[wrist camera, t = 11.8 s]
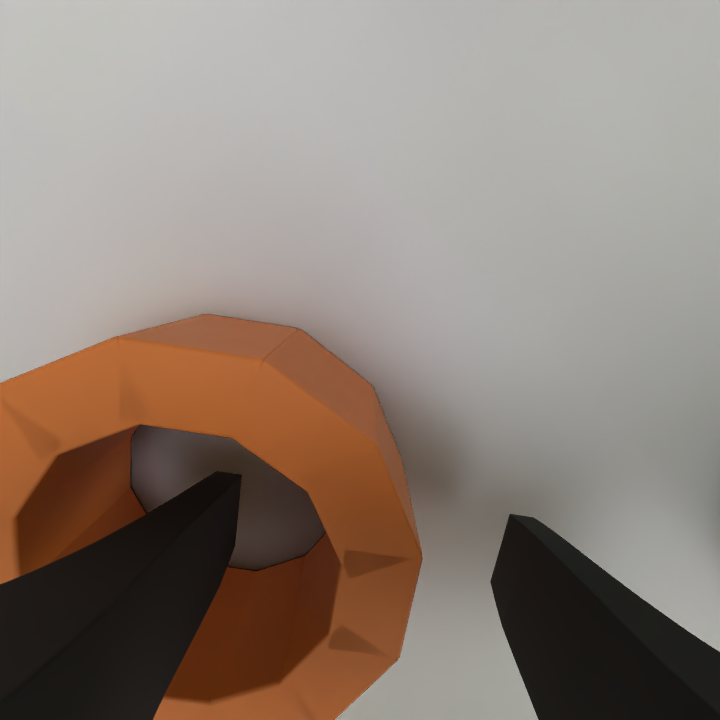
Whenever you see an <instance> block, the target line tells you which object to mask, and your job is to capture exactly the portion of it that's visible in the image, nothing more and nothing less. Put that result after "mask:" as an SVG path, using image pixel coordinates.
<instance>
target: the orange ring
mask: <svg viewBox="0 0 720 720" xmlns="http://www.w3.org/2000/svg"><path fill="white" fill-rule="evenodd" d="M140 424H141V425H148V426H155V427H162V428H168V429H175V430H182V431H188V432H195V433H202V434H208V435H215V436H222V437H228V438H232V439H234V440H235V441H236V442H238V443H239V444H241V445H242V446H243V447H245V448H246V449H248V450H249V451H250V452H252V453H253V454H255V455H256V456H257V457H259V458H260V459H262V460H263V461H264V462H266V463H267V464H269V465H270V466H271V467H273V468H274V469H276V470H277V471H279V472H280V473H281V474H283V475H284V476H286V477H287V478H288V479H290V480H291V481H293V482H294V483H295V484H297V485H298V486H300V487H301V488H302V489H304V490H305V491H307V492H308V494H309V496H310V498H311V501H312V503H313V505H314V507H315V509H316V511H317V514H318V516H319V518H320V520H321V522H322V524H323V527H324V529H325V531H326V534H325V535H324V536H323V537H322V538H321V539H320V540H319V541H318V542H317V544H316V545H315V546H314V547H313V548H312V549H311V550H310V551H309V552H308V553H307V555H306V556H303V557H300V558H297V559H294V560H290V561H287V562H284V563H281V564H278V565H275V566H272V567H269V568H266V569H263V570H260V571H251V570H244V569H237V568H230V567H227V569H226V571H225V574H224V576H223V579H222V582H221V584H220V587H219V589H218V591H217V593H216V595H215V597H214V599H213V601H212V603H211V605H210V607H209V609H208V611H207V613H206V615H205V617H204V619H203V621H202V623H201V625H200V626H199V628H198V630H197V632H196V634H195V636H194V638H193V640H192V642H191V644H190V646H189V648H188V650H187V652H186V654H185V656H184V658H183V660H182V662H181V664H180V665H179V667H178V669H177V671H176V673H175V675H174V677H173V679H172V681H171V683H170V685H169V687H168V689H167V691H166V693H165V695H164V697H163V699H162V701H161V703H160V705H159V708H158V710H157V712H156V714H155V716H154V718H153V720H335V719H336V718H337V717H338V716H339V715H340V714H341V713H342V712H343V711H344V710H345V709H346V708H348V707H349V706H350V705H351V704H352V703H353V702H354V701H355V700H356V699H357V698H358V697H359V696H360V695H361V694H362V693H363V692H365V691H366V690H367V689H368V688H369V687H370V686H371V685H372V684H373V683H374V682H375V681H376V680H377V679H378V678H379V677H380V676H381V675H383V674H384V673H385V672H386V671H387V670H388V669H389V668H390V667H391V666H392V665H393V664H394V663H395V662H396V661H397V660H398V658H399V657H400V653H401V649H402V645H403V640H404V636H405V632H406V627H407V623H408V619H409V614H410V610H411V606H412V601H413V597H414V593H415V588H416V584H417V580H418V575H419V571H420V567H421V562H422V552H421V547H420V542H419V537H418V533H417V528H416V523H415V518H414V514H413V509H412V504H411V499H410V495H409V490H408V485H407V480H406V476H405V471H404V466H403V462H402V459H401V456H400V454H399V451H398V449H397V446H396V444H395V441H394V439H393V436H392V433H391V431H390V428H389V426H388V423H387V421H386V418H385V416H384V413H383V410H382V408H381V405H380V403H379V400H378V398H377V395H376V393H375V390H374V387H373V386H372V385H371V384H370V383H369V382H368V381H366V380H365V379H364V378H363V377H361V376H360V375H359V374H357V373H356V372H355V371H354V370H352V369H351V368H350V367H349V366H347V365H346V364H345V363H343V362H342V361H341V360H340V359H338V358H337V357H336V356H334V355H333V354H332V353H331V352H329V351H328V350H327V349H326V348H324V347H323V346H322V345H320V344H319V343H318V342H317V341H315V340H314V339H313V338H312V337H310V336H309V335H308V334H306V333H305V332H304V331H303V330H301V329H297V328H293V327H287V326H280V325H274V324H268V323H261V322H255V321H249V320H243V319H236V318H230V317H224V316H217V315H211V314H206V315H205V314H203V315H199V316H195V317H191V318H187V319H183V320H179V321H175V322H171V323H167V324H164V325H160V326H156V327H152V328H148V329H144V330H140V331H136V332H132V333H128V334H124V335H120V336H117V337H113V338H111V339H108V340H106V341H103V342H101V343H98V344H96V345H93V346H91V347H88V348H86V349H83V350H81V351H79V352H76V353H74V354H71V355H69V356H66V357H64V358H61V359H59V360H56V361H54V362H51V363H49V364H46V365H44V366H41V367H39V368H36V369H34V370H31V371H29V372H26V373H24V374H21V375H19V376H16V377H14V378H11V379H9V380H6V381H4V382H1V383H0V584H2V583H5V582H7V581H10V580H12V579H15V578H17V577H20V576H22V575H25V574H27V573H30V572H32V571H34V570H36V569H39V568H41V567H43V566H45V565H48V564H50V563H52V562H54V561H56V560H59V559H61V558H63V557H65V556H67V555H69V554H72V553H74V552H76V551H78V550H80V549H82V548H84V547H86V546H88V545H90V544H92V543H94V542H96V541H98V540H100V539H102V538H104V537H106V536H108V535H109V534H111V533H113V532H115V531H117V530H118V529H120V528H122V527H124V526H126V525H128V524H129V523H131V522H133V521H135V520H137V519H139V518H140V517H142V516H144V515H146V513H145V511H144V510H143V508H142V506H141V505H140V503H139V501H138V499H137V498H136V496H135V494H134V492H133V491H132V489H131V487H130V463H131V436H132V435H133V434H134V432H135V431H136V429H137V428H138V427H139V425H140Z"/></svg>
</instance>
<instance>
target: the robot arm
mask: <svg viewBox="0 0 720 720" xmlns="http://www.w3.org/2000/svg"><path fill="white" fill-rule="evenodd" d="M241 479H242V475H240V474H233V473H227V472H220V471H217V472H215V473H213V474H211V475H210V476H208V477H207V478H205V479H203V480H202V481H200V482H198V483H197V484H195V485H194V486H192V487H190V488H189V489H187V490H186V491H184V492H182V493H181V494H179V495H178V496H176V497H174V498H173V499H171V500H169V501H168V502H166V503H164V504H163V505H161V506H159V507H158V508H156V509H154V510H153V511H151V512H149V513H148V514H146V515H144V516H142V517H140V518H139V519H137V520H135V521H133V522H131V523H129V524H128V525H126V526H124V527H122V528H120V529H118V530H117V531H115V532H113V533H111V534H109V535H108V536H106V537H104V538H102V539H100V540H98V541H96V542H94V543H92V544H90V545H88V546H86V547H84V548H82V549H80V550H78V551H76V552H74V553H72V554H69V555H67V556H65V557H63V558H61V559H59V560H56V561H54V562H52V563H50V564H48V565H45V566H43V567H41V568H39V569H36V570H34V571H32V572H30V573H27V574H25V575H22V576H20V577H17V578H15V579H12V580H10V581H7V582H5V583H2V584H0V720H153V718H154V716H155V714H156V712H157V710H158V708H159V705H160V703H161V701H162V699H163V697H164V695H165V693H166V691H167V689H168V687H169V685H170V683H171V681H172V679H173V677H174V675H175V673H176V671H177V669H178V667H179V665H180V664H181V662H182V660H183V658H184V656H185V654H186V652H187V650H188V648H189V646H190V644H191V642H192V640H193V638H194V636H195V634H196V632H197V630H198V628H199V626H200V625H201V623H202V621H203V619H204V617H205V615H206V613H207V611H208V609H209V607H210V605H211V603H212V601H213V599H214V597H215V595H216V593H217V591H218V589H219V587H220V584H221V582H222V579H223V576H224V574H225V571H226V569H227V566H228V563H229V561H230V558H231V555H232V553H233V550H234V547H235V541H236V531H237V520H238V510H239V500H240V489H241ZM491 586H492V590H493V594H494V598H495V602H496V606H497V609H498V613H499V617H500V620H501V624H502V627H503V630H504V632H505V635H506V638H507V640H508V643H509V646H510V648H511V651H512V653H513V656H514V659H515V661H516V664H517V666H518V669H519V671H520V674H521V676H522V679H523V681H524V684H525V686H526V689H527V691H528V694H529V697H530V699H531V702H532V704H533V707H534V709H535V712H536V714H537V717H538V719H539V720H720V652H719V651H717V650H715V649H714V648H712V647H711V646H709V645H708V644H706V643H705V642H703V641H702V640H700V639H699V638H697V637H696V636H694V635H693V634H691V633H690V632H688V631H687V630H685V629H684V628H682V627H681V626H680V625H678V624H677V623H675V622H674V621H672V620H671V619H670V618H668V617H667V616H665V615H664V614H663V613H661V612H660V611H658V610H657V609H656V608H654V607H653V606H651V605H650V604H649V603H647V602H646V601H644V600H643V599H642V598H640V597H639V596H638V595H636V594H635V593H634V592H632V591H631V590H630V589H628V588H627V587H626V586H624V585H623V584H622V583H620V582H619V581H618V580H616V579H615V578H614V577H612V576H611V575H610V574H608V573H607V572H606V571H605V570H603V569H602V568H601V567H599V566H598V565H597V564H595V563H594V562H593V561H592V560H590V559H589V558H588V557H586V556H585V555H584V554H583V553H581V552H580V551H579V550H577V549H576V548H575V547H574V546H572V545H571V544H570V543H568V542H567V541H566V540H564V539H563V538H562V537H560V536H559V535H558V534H556V533H555V532H554V531H552V530H551V529H550V528H548V527H547V526H546V525H544V524H543V523H541V522H540V521H538V520H537V519H535V518H533V517H526V516H519V515H513V514H510V515H509V519H508V522H507V526H506V529H505V533H504V536H503V540H502V543H501V547H500V550H499V554H498V557H497V561H496V564H495V568H494V571H493V575H492V578H491Z"/></svg>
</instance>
